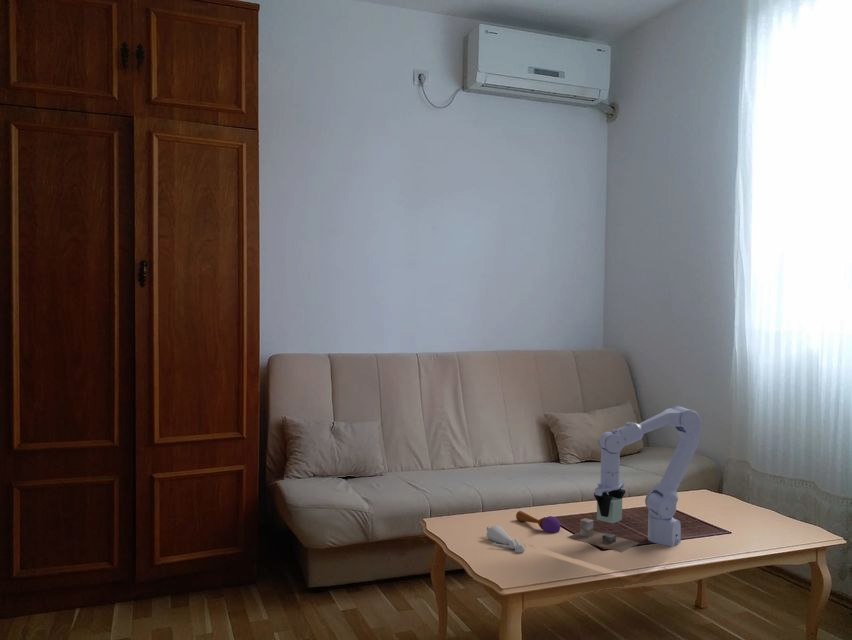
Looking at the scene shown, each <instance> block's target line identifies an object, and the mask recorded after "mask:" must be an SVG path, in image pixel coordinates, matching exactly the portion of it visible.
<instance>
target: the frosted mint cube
mask: <svg viewBox="0 0 852 640" xmlns="http://www.w3.org/2000/svg"><path fill="white" fill-rule="evenodd" d="M596 520H597V521H602V522H605V523H610V524H615V523H618V522H619V521H622V520H623V498H622V499H620V498H615V497H612V499H611V502H610V506H609V514H608V517H604V516H601V513H600V509H599V505H598V502H597V501H596Z"/></svg>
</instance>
